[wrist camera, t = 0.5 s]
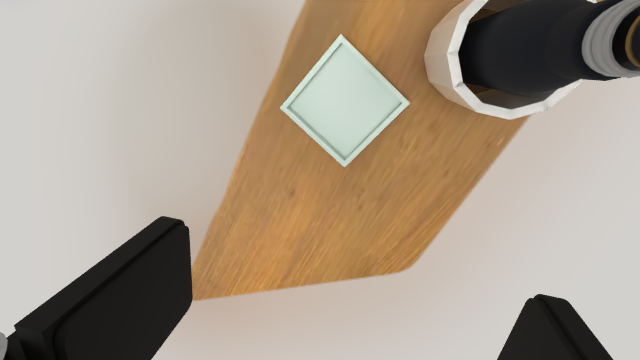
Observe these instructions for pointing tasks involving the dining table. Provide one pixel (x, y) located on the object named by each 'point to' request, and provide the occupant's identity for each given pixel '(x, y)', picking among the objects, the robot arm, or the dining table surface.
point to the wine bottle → (552, 45)
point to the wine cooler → (448, 73)
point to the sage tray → (344, 102)
